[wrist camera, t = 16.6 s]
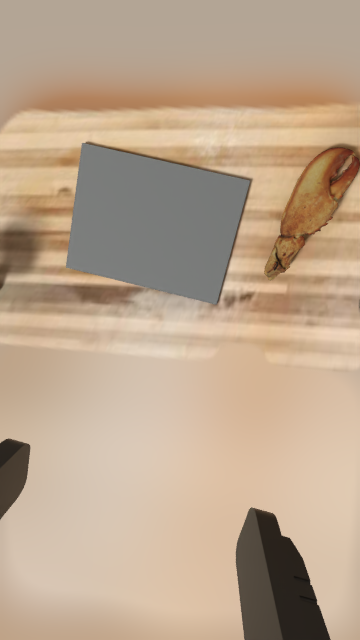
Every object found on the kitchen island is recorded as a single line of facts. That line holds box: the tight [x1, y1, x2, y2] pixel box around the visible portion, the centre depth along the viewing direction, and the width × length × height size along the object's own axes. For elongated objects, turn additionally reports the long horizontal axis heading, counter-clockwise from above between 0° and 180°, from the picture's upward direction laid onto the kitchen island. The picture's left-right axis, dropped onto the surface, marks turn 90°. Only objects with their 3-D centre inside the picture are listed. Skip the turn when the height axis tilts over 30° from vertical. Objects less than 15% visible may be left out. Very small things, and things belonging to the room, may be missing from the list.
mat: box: [66, 143, 250, 304], centre depth 39 cm, size 26×19×1 cm
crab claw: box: [264, 148, 360, 280], centre depth 36 cm, size 7×5×20 cm
